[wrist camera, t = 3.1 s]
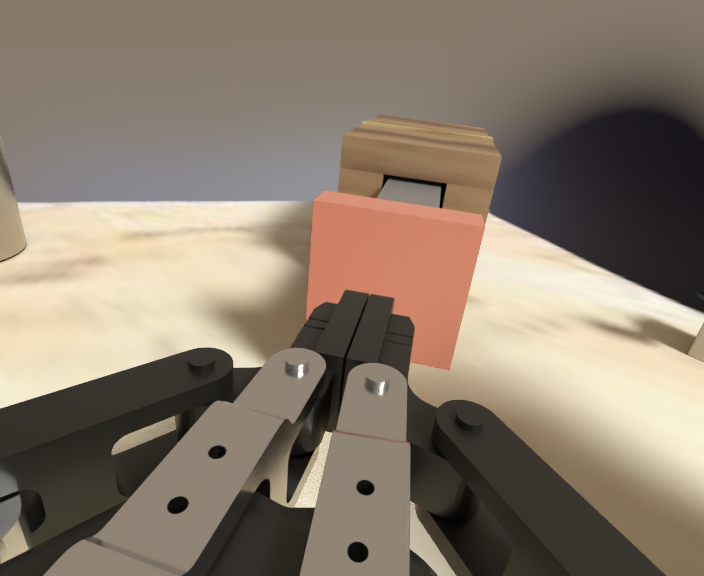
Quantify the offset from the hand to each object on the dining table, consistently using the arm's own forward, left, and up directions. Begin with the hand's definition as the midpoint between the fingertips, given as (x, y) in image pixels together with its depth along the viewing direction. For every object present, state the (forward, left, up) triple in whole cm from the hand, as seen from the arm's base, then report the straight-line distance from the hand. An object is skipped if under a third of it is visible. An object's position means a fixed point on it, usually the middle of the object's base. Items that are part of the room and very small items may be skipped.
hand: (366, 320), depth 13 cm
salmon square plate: (-13, +13, -7) cm, 20 cm away
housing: (-24, +23, -11) cm, 35 cm away
